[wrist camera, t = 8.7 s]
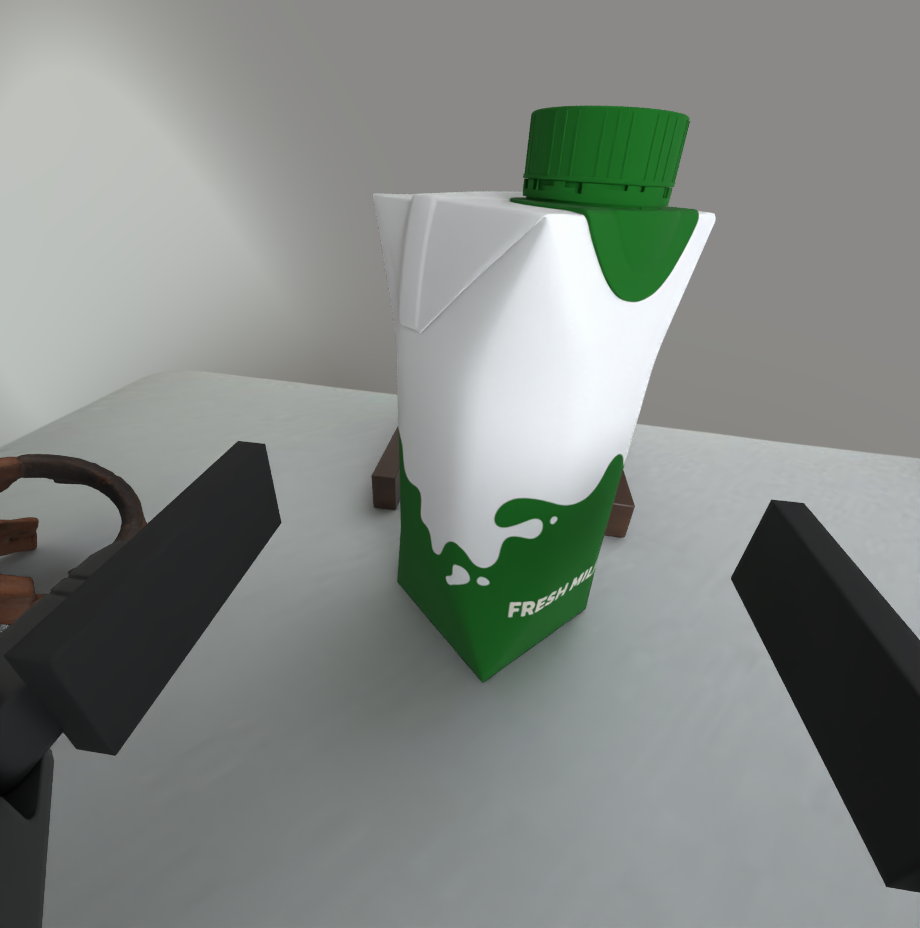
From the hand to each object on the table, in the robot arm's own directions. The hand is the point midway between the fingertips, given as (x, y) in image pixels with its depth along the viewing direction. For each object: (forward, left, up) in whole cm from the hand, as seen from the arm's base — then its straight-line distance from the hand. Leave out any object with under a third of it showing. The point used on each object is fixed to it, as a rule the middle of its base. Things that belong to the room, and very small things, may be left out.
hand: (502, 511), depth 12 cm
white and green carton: (0, -7, -11) cm, 13 cm away
